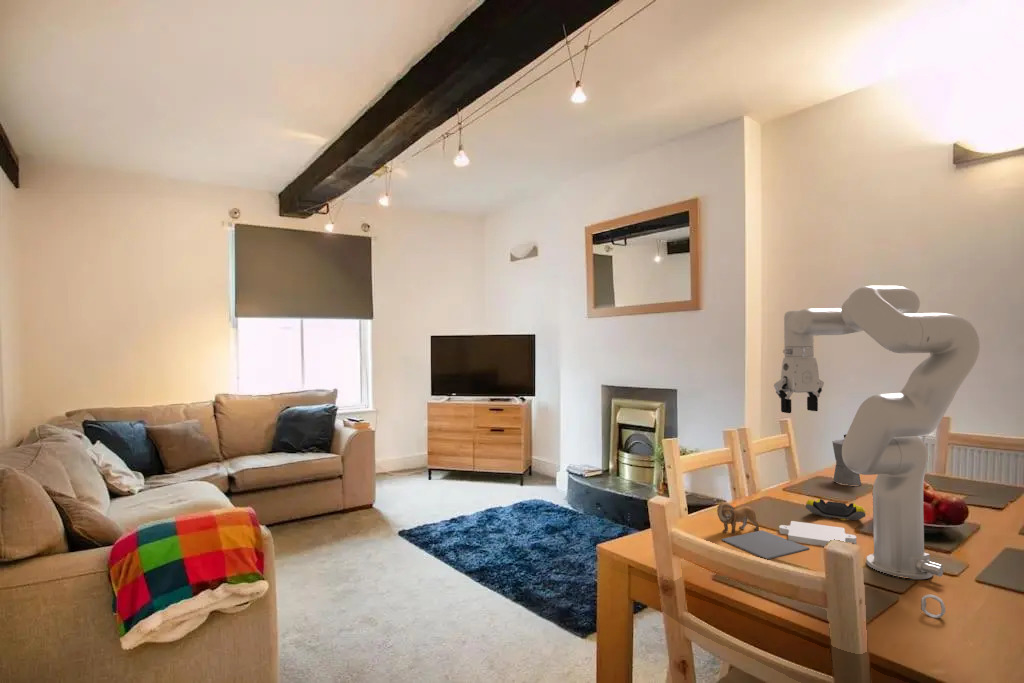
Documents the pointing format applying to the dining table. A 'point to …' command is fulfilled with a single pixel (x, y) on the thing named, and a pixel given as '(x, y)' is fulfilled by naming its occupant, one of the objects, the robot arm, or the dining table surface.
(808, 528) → the mounting plate
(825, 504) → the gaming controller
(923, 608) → the grey ring
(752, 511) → the lion figurine
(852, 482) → the coffeepot
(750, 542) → the mat
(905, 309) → the robot arm
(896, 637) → the dining table surface
